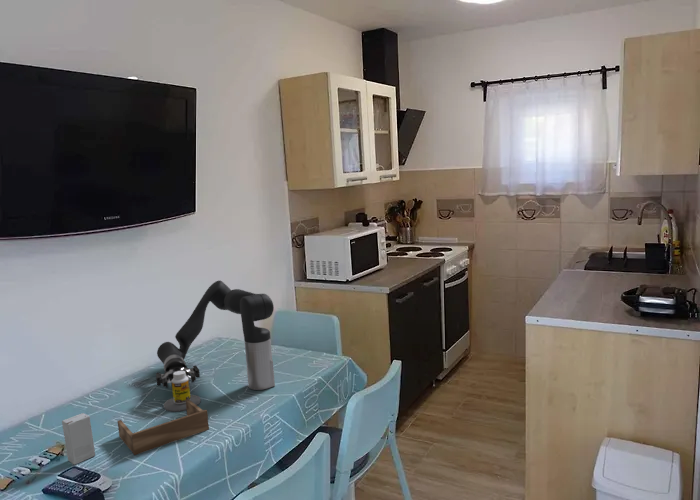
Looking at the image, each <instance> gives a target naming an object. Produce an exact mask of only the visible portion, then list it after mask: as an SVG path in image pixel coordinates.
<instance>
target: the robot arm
mask: <svg viewBox="0 0 700 500" xmlns="http://www.w3.org/2000/svg"><path fill="white" fill-rule="evenodd" d="M209 303H212V304H213V305H214V306H215V307H216V308H217V309H219V310H221V311H229V312H231V313H233V314H237V315H240V318H241V324H242V333H243V338H244V339H243V340H244V351H245V362H246V363H245V364H246V372H247V375H246V376H247V386H248V388H249V389H250V390H253V391H254V390H255V391H256V390H257V391H262V390H268V389H270V388H272V387H276V384H275V370H274V361H273V360H274V359H273V352H272V341H271V332H270V329H268V328H265V327H260V326H256V325H255V322H259V321H264V320H267V319H269V318H270V317H271V316H272V315H273V313H274V302H273V300H272V299H271V297H270V296H269V294H267V293H254V292H252V291H248V290H243V289H241V288H240V289H239V288H234V289H231V287H229V286H228V285H227V284H226V283H225V282H223V281H222V280H217V281H215V282H213V283H212V284H211V285H209V287H208V288H207V289H206V291H204V294H203V295H202V297H201V298H200V300H199V302H198V303H197V305H196V307H195V308H194V309H193V311H192V313H191V314H190V316H189V318H188V319H186V321H185V323H184V324H183V325H182V326H181V328H179V330H178V331H177V332H176V334H175V336H174V338H175V339H176V342H178V345H179V348H178V346H176V345H175V344H174V343H173V342H170V341H164V342H163V343H161V344H160V345H159V346H158V347H157V352H156V354H157V355H156V356H157V358H158V359H159V360H160V361H161V362H162V364H163V370H164V373H161V372H156V373H155V379H156V380H155V381H156V386H161V385H162V387H164V388H168V387H169V386H168V384H172V379H173V378H174V377H173V373H174V372H177V371H185V373H186V376H187V377H188V378H189V380H190V381H191V383H195V381H197V378H198V379H199V378H200V377H201V375H200V369H199V368H198V366H197V365H193V366H192V368H188V367H187V364H186V361H185V359H186V356H187V353H188V351H189V349H190V347H191V345H192V344H193V343H194V341H195V340H196V339H197V337H198V336H199V335H200V334H201V331H202V329H203V327H204V324H205V323H204V321H205V314H206V311H207V308H208V305H209Z"/></svg>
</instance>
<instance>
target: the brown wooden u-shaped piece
mask: <svg viewBox="0 0 700 500" xmlns="http://www.w3.org/2000/svg"><path fill="white" fill-rule="evenodd" d="M208 414H209V413H208V409H202V408H201V407H199V405H198V406H197V405H195V404H194V403H193V402H192V401H190V400H189V399H187V400H186V415H185V416H182V417H179V418H175V419H173V420H169V421H166V422H163V423H160V424H157V425H154V426H151V427H148V428H145V429H142V430H139V431H136V432H132V431H131V429H130V428H129V427H128V426H127V425H126V424H125V422H123V420H122V419H119V420H117V421H116V422H117V428H118V436H119V438H120V439H121V441H122V442H123V443H124V445H126V447H127V448H128V449H129V450H130V451H131V452H132V454H133V455H134V456H137V455H139V454H140V455H141V454H143V453H145V452H148V451H151V450H153V449H154V450H155V449H157V448H159V447H162V446H165V445H167V444H168V445H169V444H171V443H174V442H177V441H179V440H183V439H186V438H188V437H191V436H193V435H197V434H199V433H202V432H206V431H208V430H210V427H209V426H210V425H209V416H208Z"/></svg>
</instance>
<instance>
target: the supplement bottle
mask: <svg viewBox="0 0 700 500" xmlns="http://www.w3.org/2000/svg"><path fill="white" fill-rule="evenodd" d="M173 377H174V378H173V379H172V382H171V391H172V398H173V401H174V403H175V404H185V403H186V400H187V399H189V400H190V399H191V398H190V395H191V390H190V388H191V387H190V379H189V378H188V377H187V376H186V373H185V371H177V372H174V373H173Z"/></svg>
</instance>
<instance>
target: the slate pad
mask: <svg viewBox="0 0 700 500" xmlns="http://www.w3.org/2000/svg"><path fill="white" fill-rule="evenodd" d="M190 398H191V399H190V401H192V402H193V403H194V404H195V405H197V406H198V407H199V405H200V404H201V397H200V396H199V395H195V394H190ZM163 409H164V410H165V411H166V412H171V413H177V412H185V411H186V412H187V410H186V403H185V404H175V403H174V401H173V397H171V398H169V399H167V400H166V401H165V402H164V403H163Z"/></svg>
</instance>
